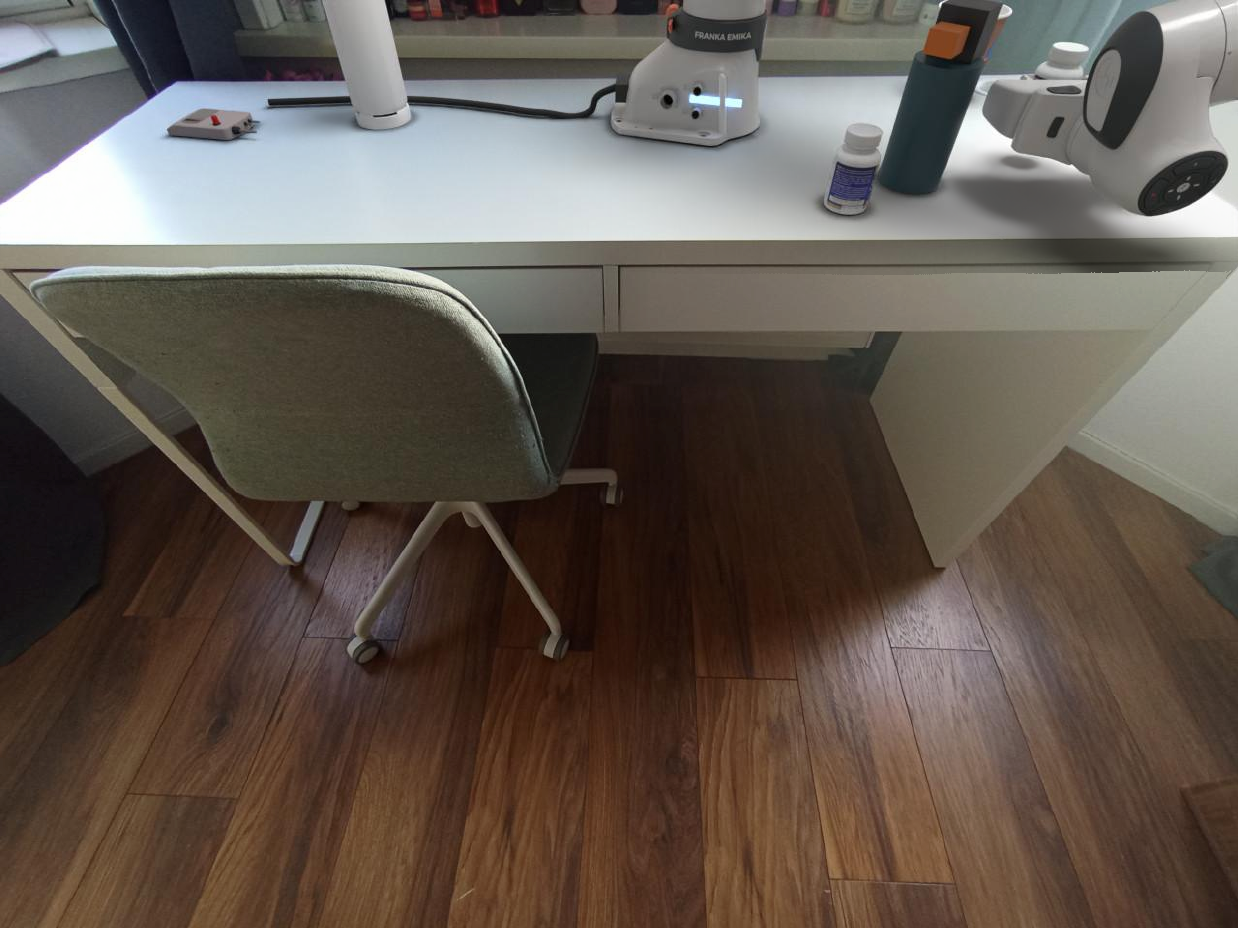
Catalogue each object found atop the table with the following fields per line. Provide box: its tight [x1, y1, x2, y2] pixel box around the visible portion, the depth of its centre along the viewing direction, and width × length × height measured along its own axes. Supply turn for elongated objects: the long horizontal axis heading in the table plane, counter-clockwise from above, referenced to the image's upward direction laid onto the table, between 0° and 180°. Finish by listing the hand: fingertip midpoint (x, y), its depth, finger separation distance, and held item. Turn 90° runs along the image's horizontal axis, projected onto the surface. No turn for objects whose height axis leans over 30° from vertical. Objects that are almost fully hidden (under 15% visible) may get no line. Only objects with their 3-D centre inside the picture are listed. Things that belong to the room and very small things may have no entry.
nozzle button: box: [922, 22, 970, 59], centre depth 69 cm, size 3×3×2 cm
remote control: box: [166, 107, 261, 141], centre depth 93 cm, size 7×16×3 cm, turn 78°
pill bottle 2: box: [1033, 41, 1090, 80], centre depth 80 cm, size 5×5×10 cm
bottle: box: [321, 0, 412, 131], centre depth 87 cm, size 8×8×28 cm
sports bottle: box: [877, 0, 1004, 195], centre depth 76 cm, size 8×8×19 cm
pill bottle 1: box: [823, 122, 884, 216], centre depth 75 cm, size 5×5×9 cm
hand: (1050, 82), depth 80 cm, fingers closed on pill bottle 2, 5 cm apart
